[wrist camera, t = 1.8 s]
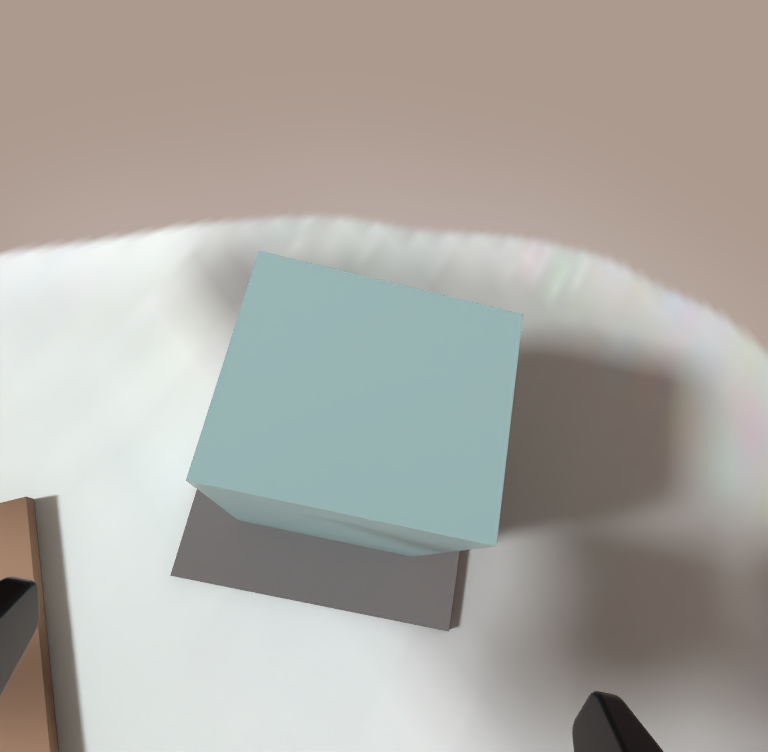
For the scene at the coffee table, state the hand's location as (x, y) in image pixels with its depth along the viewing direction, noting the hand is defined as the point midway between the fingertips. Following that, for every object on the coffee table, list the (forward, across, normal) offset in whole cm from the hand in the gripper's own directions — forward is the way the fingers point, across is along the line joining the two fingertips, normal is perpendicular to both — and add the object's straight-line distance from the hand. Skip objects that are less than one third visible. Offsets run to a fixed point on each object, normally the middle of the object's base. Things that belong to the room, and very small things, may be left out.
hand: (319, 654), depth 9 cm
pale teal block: (+12, 0, +4) cm, 12 cm away
